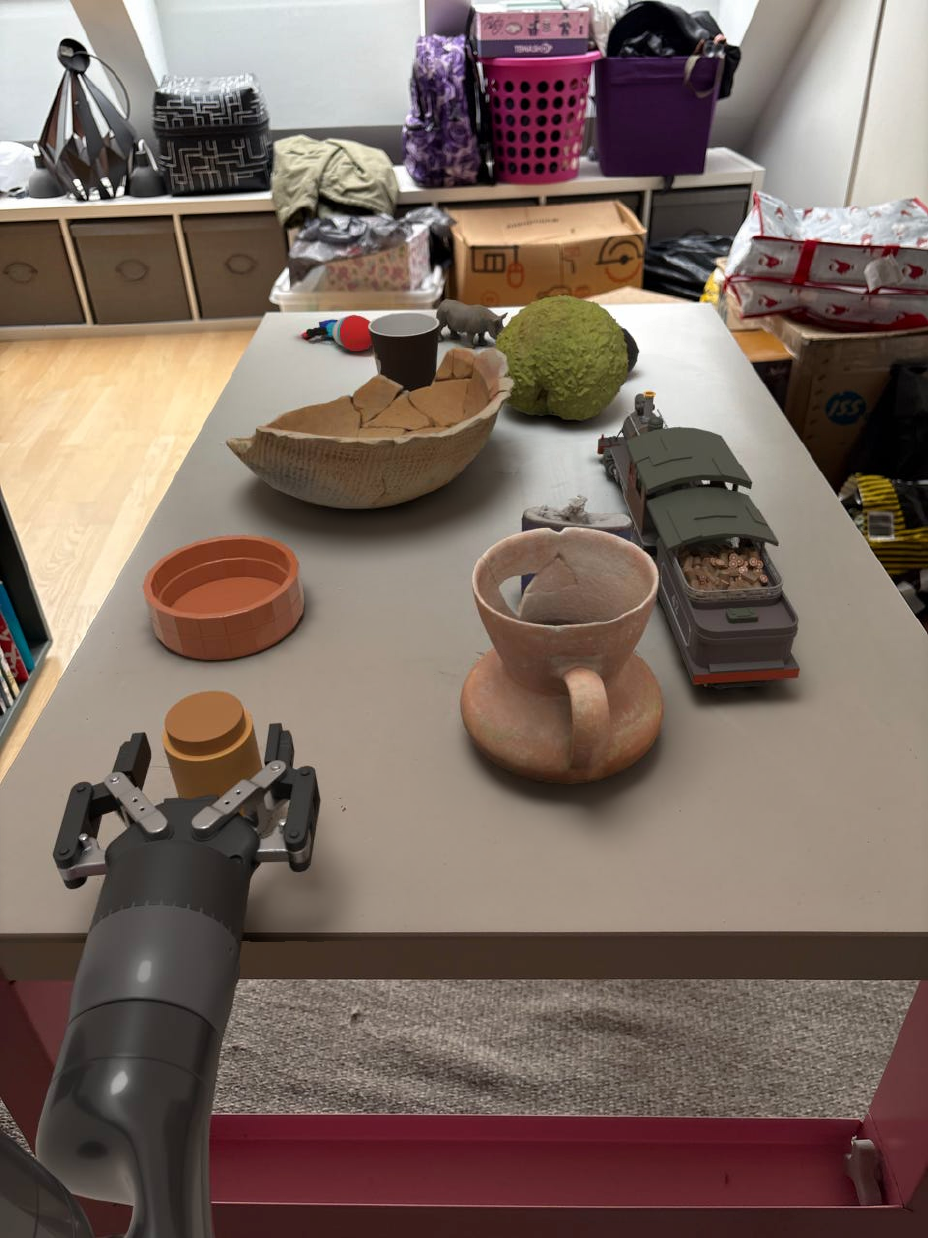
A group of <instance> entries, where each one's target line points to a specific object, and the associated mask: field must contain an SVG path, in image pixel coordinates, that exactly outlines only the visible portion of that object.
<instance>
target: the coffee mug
mask: <svg viewBox="0 0 928 1238" xmlns="http://www.w3.org/2000/svg"><path fill="white" fill-rule="evenodd" d="M368 328H369V333H370V338H371V343H372V346H371V347H372V353H373V356H374V362H375V367H376V371H377V375H378V374H380V375H383V376H385V377H386V378H387V379H390V380H392V381H394V382H396V383H398V384H400V385H402V386H403V387H404V388H403V391H406V390H408V391H409V392H412V391H414V390H417V389H420V388H423V387H428V386H431V384H432V383H433V381H434V378H435V375H436V372H437V367H438V351H439V350H438V349H439V341H438V336H439V320H438V319H437V318H436V316H433V315H431V314H427V313H421V312H397V313H396V312H395V313H391V314H385V315H382V316H379V317H377V318H374V319H372V320H371V321H370V323H369V325H368Z"/></svg>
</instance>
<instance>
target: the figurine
mask: <svg viewBox="0 0 928 1238" xmlns="http://www.w3.org/2000/svg"><path fill="white" fill-rule="evenodd" d="M622 332H623V333H624V337H625V338H624V341H625V343H626V344H627V355H628V360H629V362H628V369H627V371H628V373H627V375H629V374H630V373H631V372H632V370H633V369H634V368H635V367H636V365H637V362H638V357H639V354H640V349H639V347H638V344H637V341H636V340H635V338H634V337H633V336H632V334H631V333H630V332H629V330H628V329H627V328H626V327H625V328H624V327H622Z"/></svg>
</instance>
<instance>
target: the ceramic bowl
mask: <svg viewBox="0 0 928 1238" xmlns="http://www.w3.org/2000/svg"><path fill="white" fill-rule="evenodd" d="M507 362H508V359H507V356H506V355H505V354H503V353H502V352H500V351H499V350H498V349H496V348H495V347H491V346H490V347H487V348H485V349H484V350H482V351H481V352H480V353H479V354H478V352H477V351H476V350H475V349H474V348H473V349H470V348H466V347H460V346H455V347H453V348H451V349H448V350H447V351H446V352H445V355H444V356H443V359H442V361H441V363H439V366H438V369H436V375H435V378H434V381H433V383H432V384H431V386H428V387H423V388H420V389H417V390H414V391H412V392H409V391H408V390H406V391H403V388H404V387H403V386H402V385H400V384H398V383H396V382H394V381H392V380H390V379H387V378H386V377H385V376H383V375H380V374H378V373H377V374H376V375H375V376H373V377H371V378H370V379H369V380H368V381H367V382H365V383H364V384H363V385H360V386H359V388H358V389H355V391H354V392H353V394H352V395H350V394H347V395H342V396H339V397H338V398H337V399H333V400H331V401H328V402H324V403H316V404H313V405H308V406H303V407H301V408H298V409H294V410H290V411H287V412H284V413H281V414H278V416H277V417H275V418H274V419H273V420H272V421H271V422H269V423H267V424H265V425H258V426H257V427H256V428H255V432H254V433H253V435H252V436H249V437H246V438H243V437H230V438H228V439H226V440H225V444H226V446H227V447H228V448H229V449H230V450H231V451H232V453H233V454H234V455H235V456H236V457H237V458H238V459H239V460H240V462H241V463H243V464H244V465H245V466H246V467H247V469H249V470H250V471H251V472H252V473H253V474H255V475H256V476H258V477H259V478H260V479H262V480H263V481H264V482H265V483H267V484H268V485H269V486H270V487H271V488H272V489H273V490H277V491H280V492H282V493H283V494H286V495H288V496H291V497H294V498H296V499H299V500H302V501H303V502H306V503H311V504H315V505H317V506H325V507H329V508H338V509H343V510H344V509H345V510H355V509H356V510H363V509H364V510H365V509H378V508H379V509H380V508H386V507H393V506H397V505H399V504H403V503H407V502H410V501H412V500H415V499H417V498H419V497H422V496H424V495H428V494H430V493H431V492H434V491H436V490H438V489H439V488H441V487H443V486H445V485H447V484H449V483H450V482H451V481H452V480H453V479H454V478H456V477H457V476H458V475H459V474H460V473H462V472H463V471H464V470H465V469H466V468H467V467H468V466H469V465H470V464H471V462H472V461H473V460H474V459H475V458H476V457H477V456H478V455H479V453H480V452H481V451H482V450H483V448H484V447H485V445H486V444H487V442H488V440H489V438H490V436H491V434H492V433H493V430H494V428H495V425H496V423H497V420H498V415H499V412H500V411H501V409H502V407H503V405H505V404H506V403H507V402H506V401H507V400H508V399H509V398H510V397H511V396H512V395H511V394H510V393H511V392H512V390H513V388H514V385H515V383H514V380H512V379H510V378H507V376H508V371H509V368H508V363H507Z"/></svg>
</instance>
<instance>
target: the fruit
mask: <svg viewBox="0 0 928 1238" xmlns="http://www.w3.org/2000/svg"><path fill="white" fill-rule="evenodd" d="M622 328H623V326H622V325H620V324H619V322H617V319H616V318H614V317H613V316H612V315H611V313H610V312H609V311H608V310H607V309H606V308H604V307H602V306H600V304H599V303H598V302H596V301H594V300H593V301H589V300H587V299H583V298H578V297H576V296H571V295H570V294H564V295H561V294H558V295H555V296H550V297H549V296H546V297H544V298H542V299H538V300H536V301H531V302H530V303H527V304H526V306H525V307H523V308H521V309H519V311H518V313H516V314H515V315H513V316H511V317H510V320H509V321H508V323H507V324H506V325H505V326H504V329H503V330H502V332H501V333H499V335H497V340H495V343H494V348H496V349H498V350H499V351H500V352H502V353H503V354H505V355H506V356H507V359H508V362H507V363H508V368H509V371H508V376H507V378H510V379H512V380H514V383H515V385H514V388H513V390H512V392H511V393H510V394H511V395H512V396H511V397H510V398H509V399H508V400H507V401H506V402H505V403H506V404H507V405H509V406H510V408H511V409H515V411H519V412H520V413H524V414H527V415H528V416H530V415H531V416H534V415H537V416H539V417H543V416H549V415H552V416H558V417H560V418H561V420H564V421H566V420H567V421H568V420H572V421H574V420H576V421H581V422H582V421H585V420H587V419H590V418H593V417H594V418H595V416H598V415H601V414H602V412H603V410H604V409H607V407H608V406H610V404H611V403H613V402H614V399H615V398H616V396H617V395H618V393H621V392H620V391H621V388H622V386H623V385H624V384H625V383H627V381H626V379H627V376H628V374H629V373H628V371H627V369H628V362H629V360H628V355H627V344H626V343H625V341H624V338H625V337H624V333H623V332H622ZM627 373H628V374H627Z"/></svg>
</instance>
